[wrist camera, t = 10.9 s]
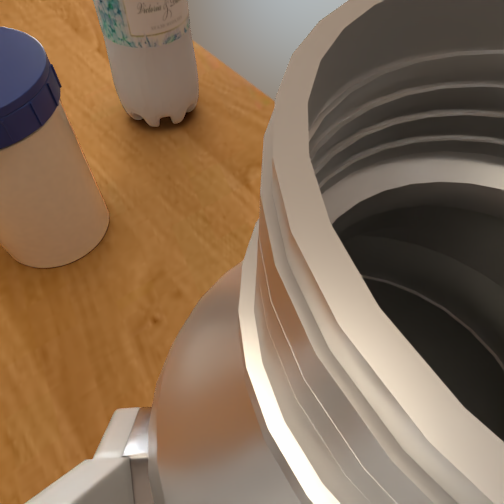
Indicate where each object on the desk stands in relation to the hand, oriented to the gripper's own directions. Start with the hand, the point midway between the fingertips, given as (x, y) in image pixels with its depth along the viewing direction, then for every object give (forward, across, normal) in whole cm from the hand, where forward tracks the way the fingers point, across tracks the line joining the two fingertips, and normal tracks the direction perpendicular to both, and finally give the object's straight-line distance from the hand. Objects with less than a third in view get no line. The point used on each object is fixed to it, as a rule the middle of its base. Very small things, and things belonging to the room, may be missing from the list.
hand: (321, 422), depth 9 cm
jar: (+18, +13, -2) cm, 23 cm away
